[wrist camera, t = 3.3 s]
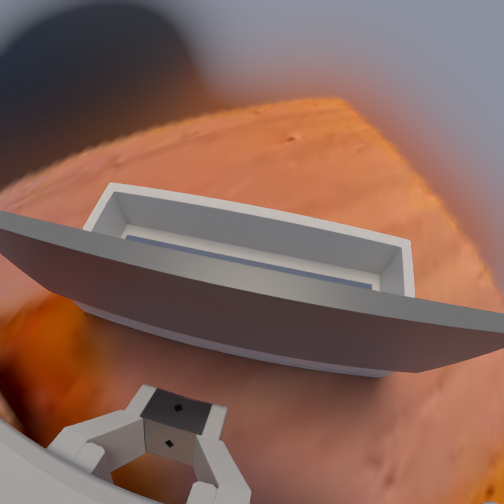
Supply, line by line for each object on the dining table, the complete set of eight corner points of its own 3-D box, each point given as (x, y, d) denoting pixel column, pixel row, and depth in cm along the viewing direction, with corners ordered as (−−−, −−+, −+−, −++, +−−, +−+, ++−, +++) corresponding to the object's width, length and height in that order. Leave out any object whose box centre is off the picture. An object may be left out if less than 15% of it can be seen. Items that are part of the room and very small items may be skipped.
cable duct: (84, 311, 25) (55, 284, 20) (125, 220, 31) (110, 182, 26) (380, 377, 24) (415, 363, 19) (384, 272, 29) (410, 240, 24)
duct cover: (52, 281, 20) (49, 290, 20) (-36, 202, 10) (-42, 214, 10) (418, 362, 18) (417, 372, 18) (533, 318, 8) (534, 336, 8)
